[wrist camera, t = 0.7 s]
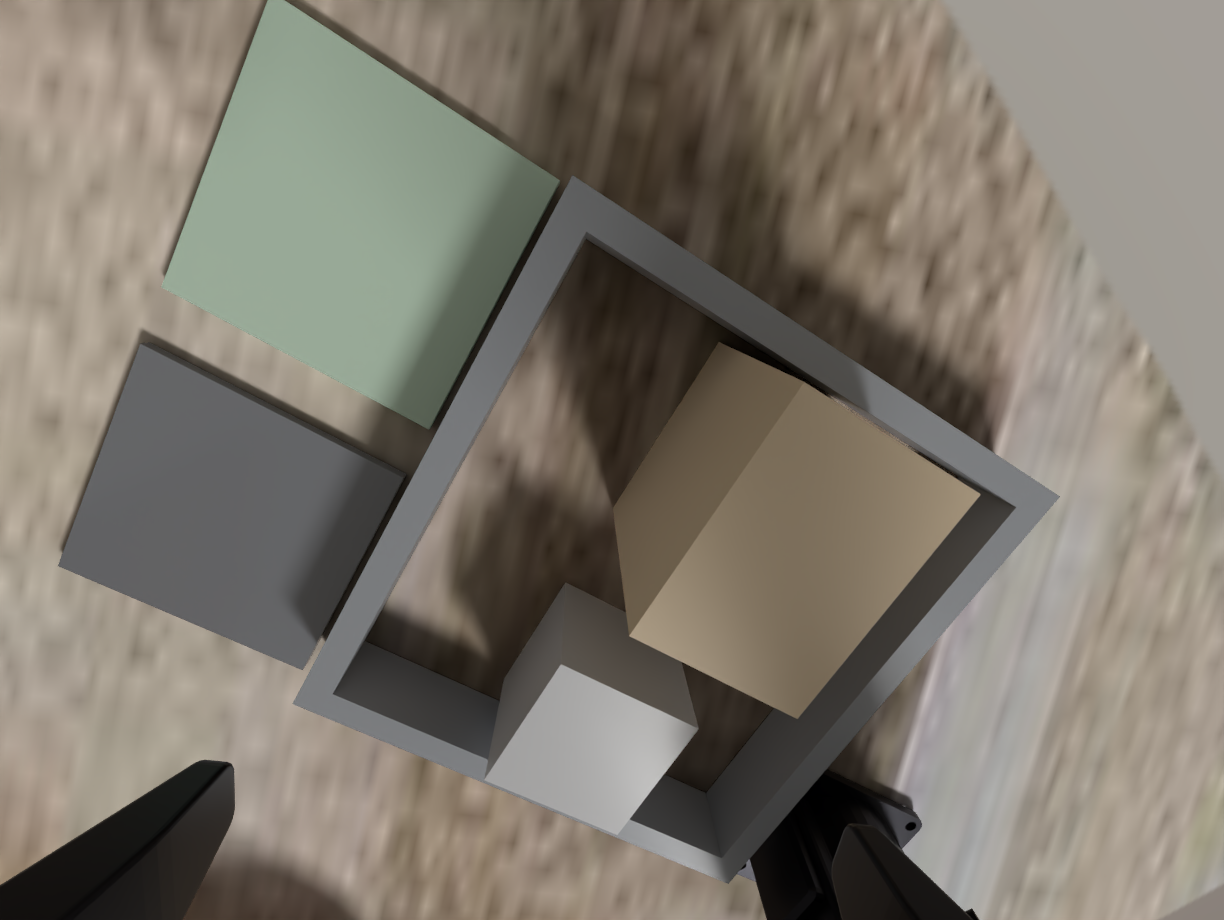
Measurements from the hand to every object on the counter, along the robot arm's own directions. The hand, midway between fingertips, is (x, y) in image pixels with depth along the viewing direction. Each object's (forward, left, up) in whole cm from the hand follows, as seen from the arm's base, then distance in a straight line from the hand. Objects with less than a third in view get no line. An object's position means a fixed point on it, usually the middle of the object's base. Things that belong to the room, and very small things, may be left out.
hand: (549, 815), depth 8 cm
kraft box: (-4, -4, -13) cm, 14 cm away
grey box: (-4, +6, -13) cm, 15 cm away
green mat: (+10, -4, -13) cm, 17 cm away
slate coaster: (+10, +7, -13) cm, 18 cm away
